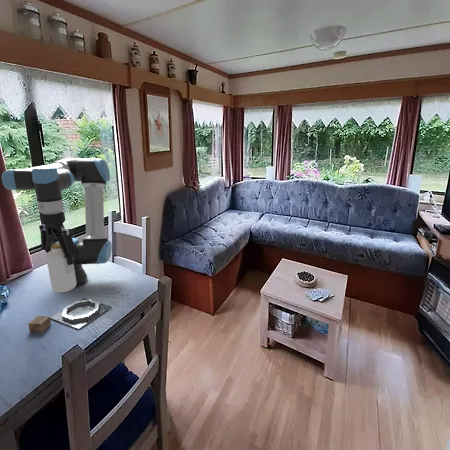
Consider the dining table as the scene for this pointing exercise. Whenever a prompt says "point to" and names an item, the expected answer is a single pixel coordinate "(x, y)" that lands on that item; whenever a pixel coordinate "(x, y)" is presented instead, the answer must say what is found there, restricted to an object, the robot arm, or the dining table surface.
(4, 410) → the dining table surface
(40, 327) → the walnut block
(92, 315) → the ring seat
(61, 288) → the white plastic bottle
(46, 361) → the dining table surface
